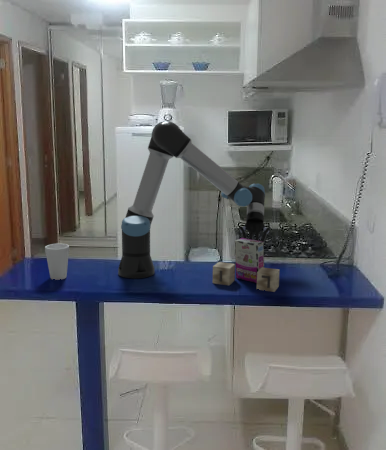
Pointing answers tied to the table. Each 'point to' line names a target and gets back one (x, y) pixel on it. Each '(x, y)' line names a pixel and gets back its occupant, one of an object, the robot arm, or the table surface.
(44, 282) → the table surface
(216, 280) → the wooden character cube
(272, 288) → the light wood cube
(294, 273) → the table surface
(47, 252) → the foam cup
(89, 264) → the table surface
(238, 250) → the candy bar box
